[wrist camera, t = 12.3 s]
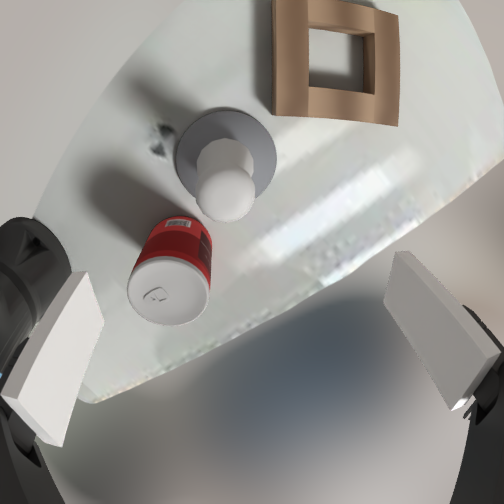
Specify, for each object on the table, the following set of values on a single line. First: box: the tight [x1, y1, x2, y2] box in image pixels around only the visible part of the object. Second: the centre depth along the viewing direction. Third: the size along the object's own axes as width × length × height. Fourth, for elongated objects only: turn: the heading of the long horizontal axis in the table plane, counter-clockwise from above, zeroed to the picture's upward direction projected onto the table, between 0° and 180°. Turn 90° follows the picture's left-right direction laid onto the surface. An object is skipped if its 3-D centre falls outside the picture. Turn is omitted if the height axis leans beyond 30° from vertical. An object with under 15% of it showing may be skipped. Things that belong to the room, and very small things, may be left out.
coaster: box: [176, 111, 277, 198], centre depth 32 cm, size 11×11×1 cm
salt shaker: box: [195, 138, 255, 223], centre depth 26 cm, size 6×6×13 cm
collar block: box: [271, 0, 400, 127], centre depth 26 cm, size 14×14×3 cm
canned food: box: [127, 216, 212, 326], centre depth 31 cm, size 8×8×11 cm
